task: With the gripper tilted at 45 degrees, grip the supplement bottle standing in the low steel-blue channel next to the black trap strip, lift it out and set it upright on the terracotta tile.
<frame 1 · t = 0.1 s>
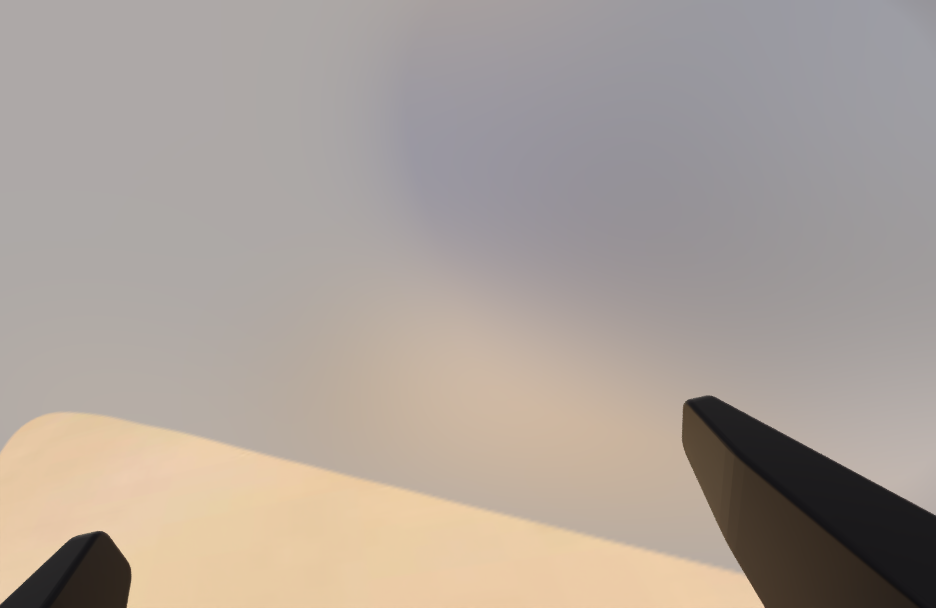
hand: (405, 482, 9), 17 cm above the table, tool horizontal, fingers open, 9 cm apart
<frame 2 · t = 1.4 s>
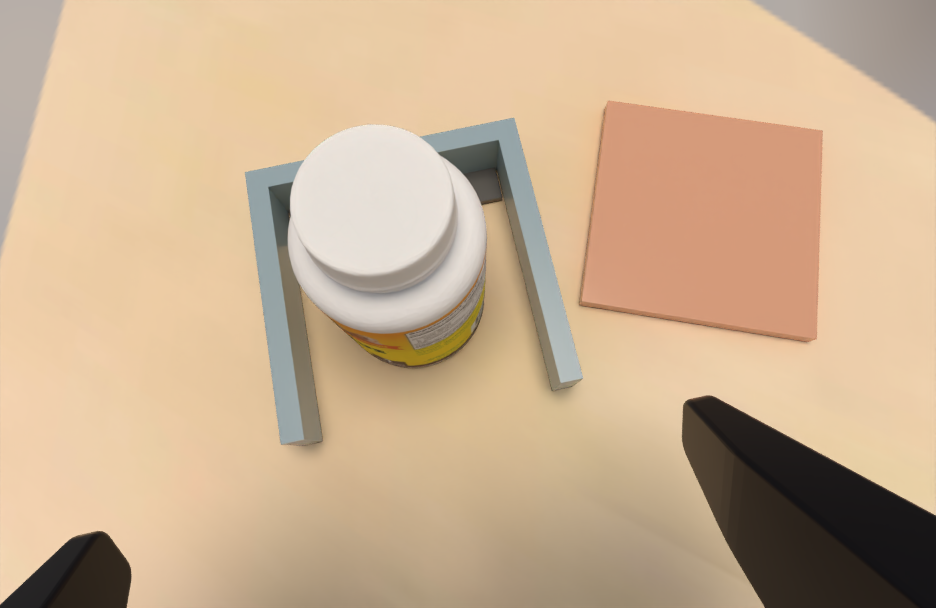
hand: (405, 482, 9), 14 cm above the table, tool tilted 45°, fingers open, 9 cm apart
tile: (700, 218, 25), on the table
supplement bottle: (416, 304, 24), on the table
channel: (415, 302, 24), on the table
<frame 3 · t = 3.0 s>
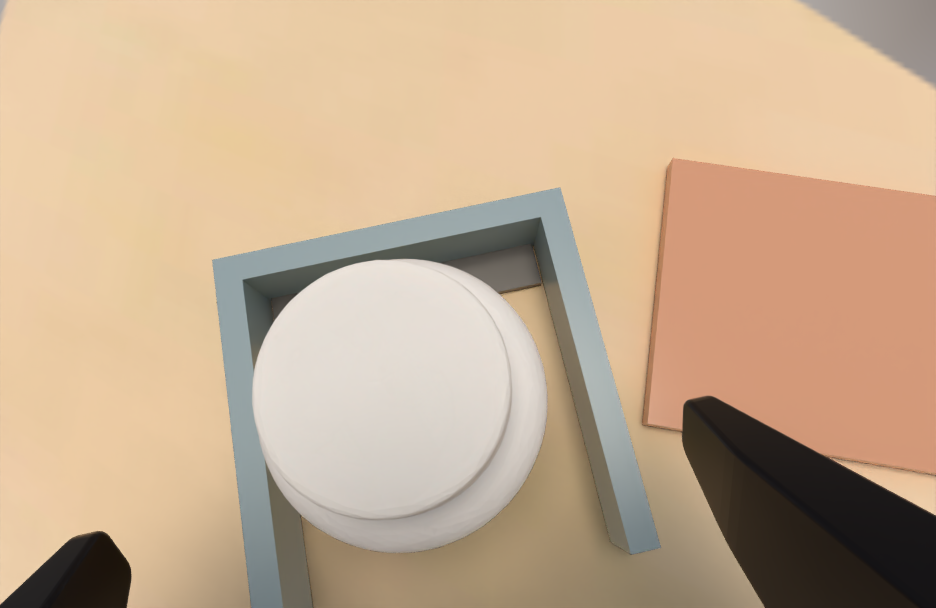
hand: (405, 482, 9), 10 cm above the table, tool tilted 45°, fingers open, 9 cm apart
tile: (793, 310, 19), on the table
supplement bottle: (433, 421, 19), on the table
channel: (432, 421, 19), on the table
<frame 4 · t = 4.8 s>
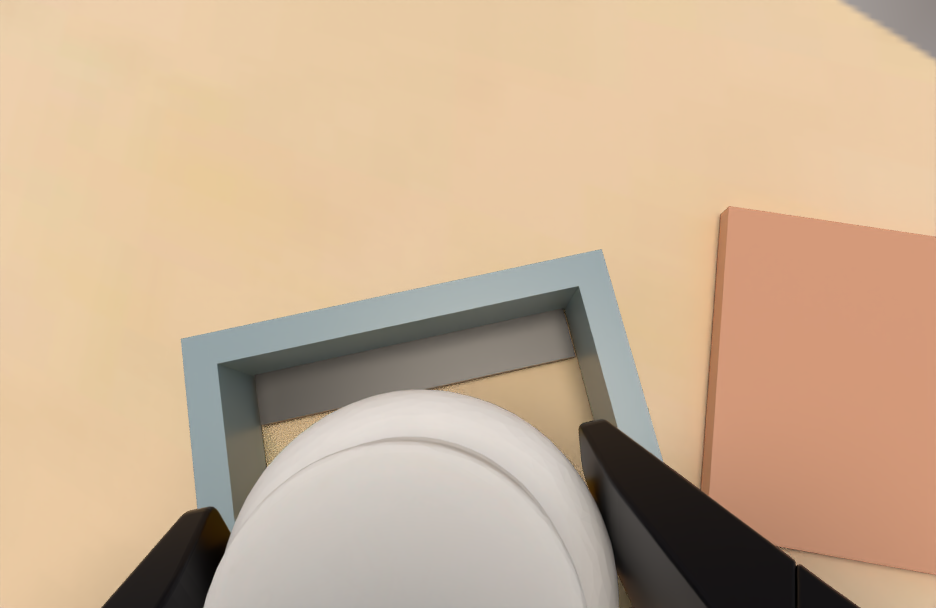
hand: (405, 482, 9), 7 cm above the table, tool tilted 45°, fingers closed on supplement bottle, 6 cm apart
tile: (874, 389, 16), on the table
supplement bottle: (447, 524, 16), on the table, touching gripper
channel: (446, 525, 16), on the table
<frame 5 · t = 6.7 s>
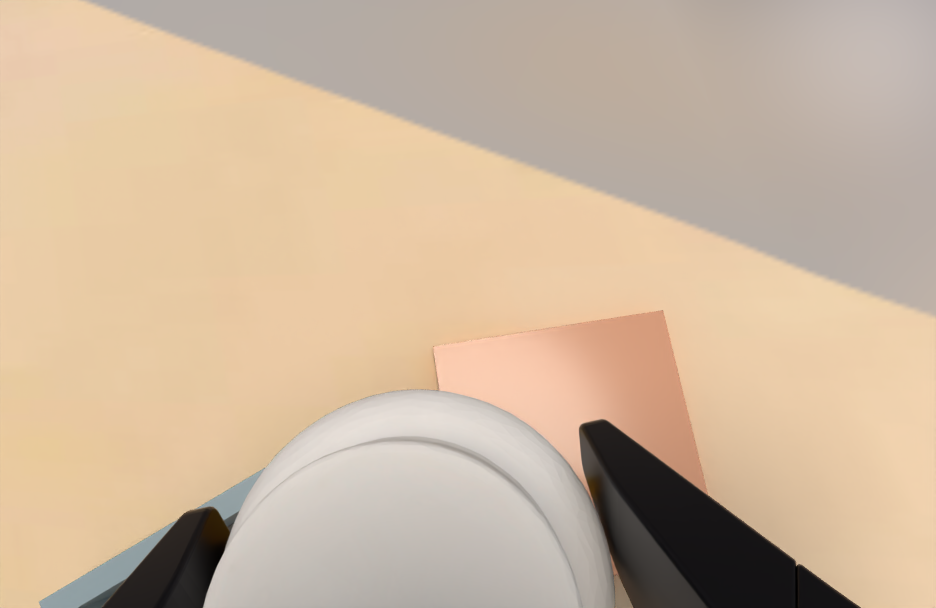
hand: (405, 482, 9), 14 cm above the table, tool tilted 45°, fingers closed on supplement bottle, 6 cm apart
tile: (568, 446, 22), on the table
supplement bottle: (446, 523, 16), point 6 cm above the table, touching gripper
when the fingers open (9 cm above the table, at t = 8.9 s): supplement bottle stays where it is, resting on tile.
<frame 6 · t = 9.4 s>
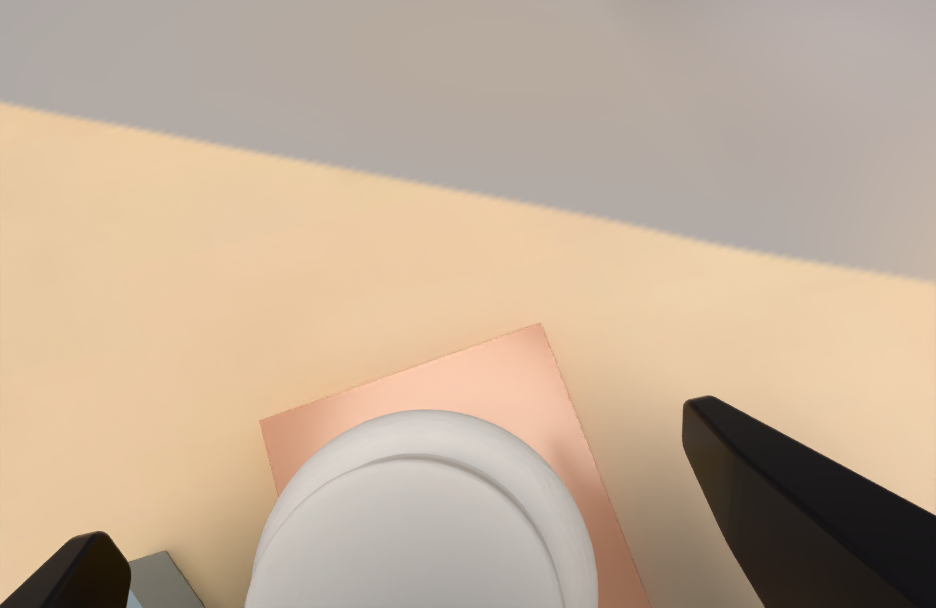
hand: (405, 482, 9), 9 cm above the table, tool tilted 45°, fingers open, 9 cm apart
tile: (450, 516, 18), on the table
supplement bottle: (450, 525, 17), resting on tile
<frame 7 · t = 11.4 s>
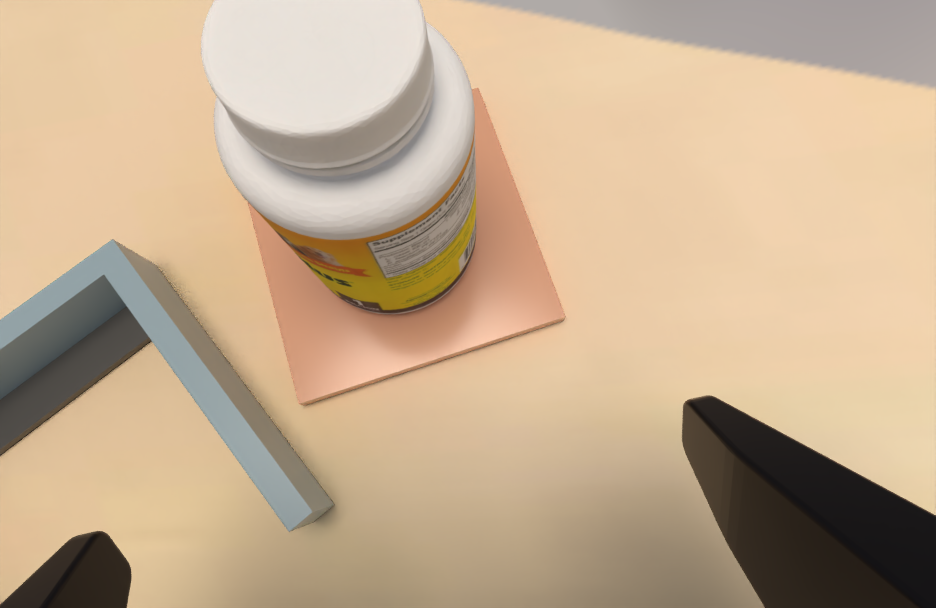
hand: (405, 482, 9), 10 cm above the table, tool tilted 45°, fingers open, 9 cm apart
tile: (397, 241, 21), on the table
supplement bottle: (396, 242, 20), resting on tile
channel: (113, 501, 19), on the table
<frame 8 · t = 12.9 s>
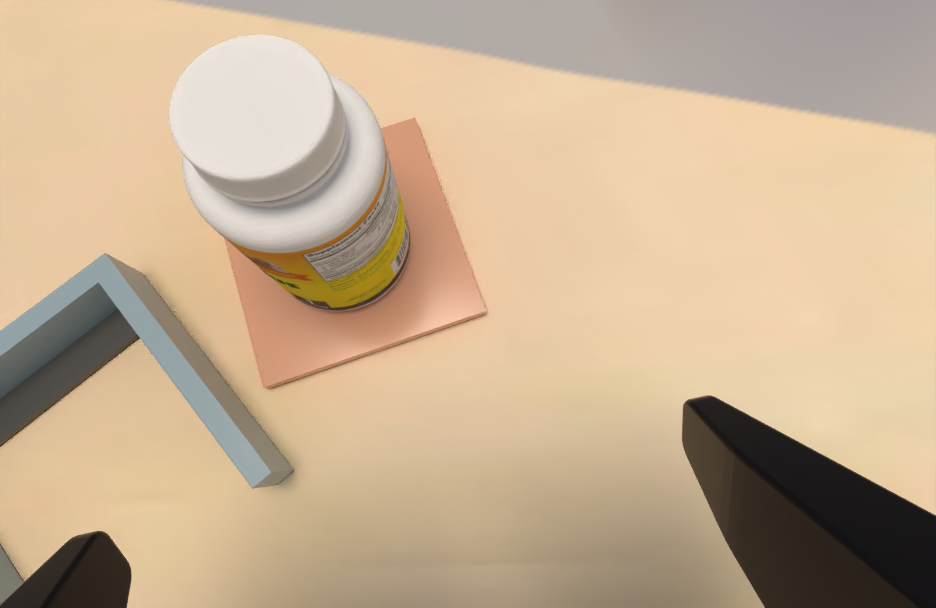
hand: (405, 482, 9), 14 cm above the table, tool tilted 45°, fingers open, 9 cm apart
tile: (346, 249, 25), on the table
supplement bottle: (345, 251, 24), resting on tile
channel: (109, 471, 22), on the table
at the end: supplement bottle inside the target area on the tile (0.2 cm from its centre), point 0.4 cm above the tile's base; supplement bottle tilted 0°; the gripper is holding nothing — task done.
